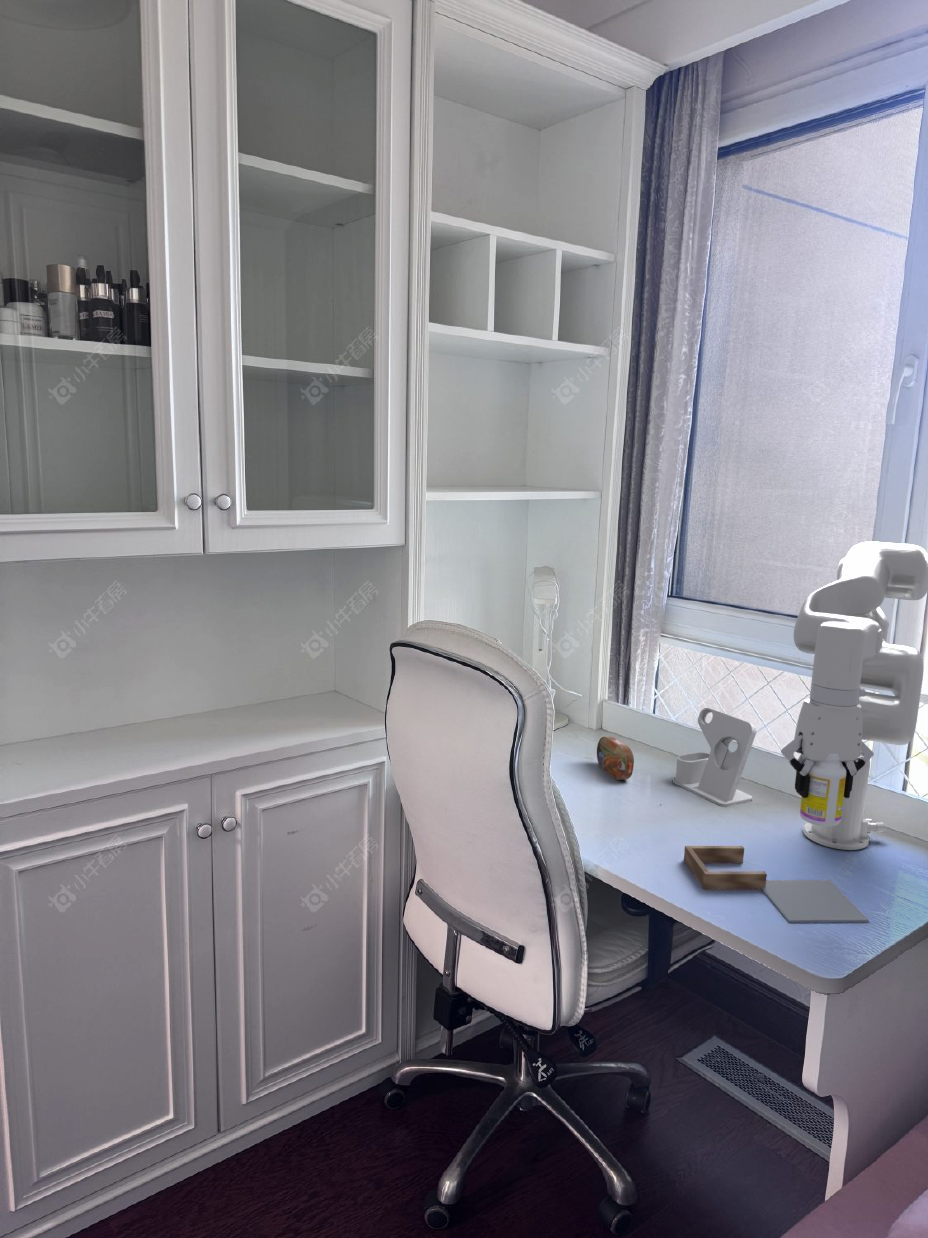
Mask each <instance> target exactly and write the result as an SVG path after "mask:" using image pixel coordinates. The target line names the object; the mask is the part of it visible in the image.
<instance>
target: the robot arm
mask: <svg viewBox="0 0 928 1238" xmlns="http://www.w3.org/2000/svg"><path fill="white" fill-rule="evenodd" d="M927 593H928V553H927V551H926V550H925V549H924V548H923V547H921V546H919V545H915V544H910V543H895V542H884V541H883V542H881V541H864V542H860V543H858V544H855V545H853V546H852V547H851V548H850V549H849V550H848V552H847V554H846V556H845V557H843V558H842V559H840V561H839V563H838V565H837V570H836V581H833V582H832V583H831V582H830V583H829V584H827V585H824V586H822V587H820V588H819V589H816V590H815V591H813V592H812V593H810V594H809V595H808V596H807V597H806V598H805V599H804V602H802V605H801V608H800V610H799V613H798V616H797V618H796V621H795V624H794V628H793V642H794V645H795V647H796V648H797V649H798V650H799V651H800V652H803V653H806V654H809V655H814V656H813V665H812V666H813V667H812V675H811V684H810V691H809V692H810V693H809V698H807V699H804V700H803V703H802V705H801V709H800V710H799V711H800V712H799V714H798V719H797V723H796V727H795V734H794V739H793V740H791V741H790V742H789V743H788V744H787V745H785V746H784V747H782V749H781V750H780V753H781V754H782V756H783V757H784V758H785V760H787V762H788V763H789V764H790V766H791V767H792V768H793V769H794V770H795V781H794V789H795V792H796V793H797V794H798V795H800V796H801V798H802V797H803V798H807V797H808V793H809V784H810V776H809V775H807V774H808V772H809V770H810V768H811V767H812V765H813V763H814V762H815V761H827V760H826V758H827V757H828V755H829V754H838V755H839V759H840V760H838V761H839V762H840V764H842V765H843V766H844V767H845V769H846V780H845V789H844V798H843V806H842V815H841V821H840V823H839V824H838V825H836V826H818V825H814V824H811V823H808V822H807V821H806V823H804V825H803V827H802V829H803V830H802V831H803V834H804V836H805V837H807V838H808V839H809V840H811V841H812V842H814V843H817V844H819V845H820V846H821V845H822V846H824V847H828V848H832V849H835V850H836V849H837V850H844V851H855V850H856V851H857V850H862V849H865V848H866V847H867V846H869V842H870V836H869V835H868V834H870V833H871V832H875V833H882V832H883V833H884V832H885V831H886V824H885V822H884V821H883V822H882V821H879V822H873V820H872V818H864V816H865V809H866V802H867V801H866V799H867V793H868V784H869V777H870V776H869V775H870V771H871V769H870V768H871V759H872V758H873V756H874V755H875V754H874V752H873V750H871V749H870V748H869V746H868V745H866V743H865V742H864V741H871V742H876V743H882V744H887V745H894V746H905V745H908V744H910V742H912V740H913V739H914V735H915V732H916V726H917V722H918V715H919V714H918V713H919V708H920V707H919V706H920V701H921V700H920V699H921V693H922V685H923V681H924V680H923V679H924V667H925V666H924V659H923V656H922V654H921V652H920V651H919V650H918V649H916V648H914V647H910V646H907V645H901V644H893V643H892V644H890V643H887V638H888V633H889V632H888V631H889V626H890V623H889V619H888V618H887V616H886V614H885V613H884V611H883V609H881V605H883V602H884V599H894V600H895V599H896V600H903V601H904V600H906V601H919V600H922V599H923V598H924V597H925V596H926V595H927ZM865 688H867V689H873V690H879V691H884V692H886V691H887V692H890V693H892V694H893V695H888V694H883V693H882V694H881V693H874V692H871V691H866V689H865ZM795 753H798V754H799V756H798V757H797V758H796V757H795V755H794V754H795Z"/></svg>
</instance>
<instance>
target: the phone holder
mask: <svg viewBox="0 0 928 1238" xmlns="http://www.w3.org/2000/svg"><path fill="white" fill-rule="evenodd" d="M710 713H711V714H712V719H711V720H710V722H708V721H707V717H708V714H710ZM697 724H698V726H699V728H700V730H701V732H702V734H703V736H704V738H705V740H706V742H707V743H708V746H709V747H710V752H709V753H707V752H694V753H688V754H683V755H682V754H681V755H679V756H677V758H676V768H675V778H673V781H672V782H673V784H674V783H675V785H677V786H678V787H681V788H682V789H685V790H687V791H689V792H691V793H693V794H695V795H697V796H699V797H702V798H703V799H705V800H707V799H708V800H707V801H709V802H712V803H713V804H715V805H717V804H718V806H720V807H725V808H726V807H730V806H731V805H732V806H735V805H734V804H736V805H740V804H745V803H749V802H751V801H752V800H753V796H752V795H750V794H748V793H746V792H744V791H742V790H739V789H737V788H738V787H739V786H738V785H739V782H740V780H741V777H742V774H743V771H744V769H745V766H746V763H747V762H748V761H747V760H748V758H749V756H750V755H749V754H750V751H751V749H752V746H753V744H754V740H755V738H756V735H757V727H756V726H755V725H754V723H751V722H750V721H749V722H748V721H746V720H743V719H740V718H737V717H736V716H733V715H730V714H726V713H723V712H721V711H719V710H715V709H713V708H710V707H705V708H703V709H702V710H700V712H699V714H698V717H697ZM732 741H735V742H736V743H737V748H736V750H735V751H731V750H730V744H731V742H732ZM751 799H752V800H751ZM748 801H749V802H748Z"/></svg>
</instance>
